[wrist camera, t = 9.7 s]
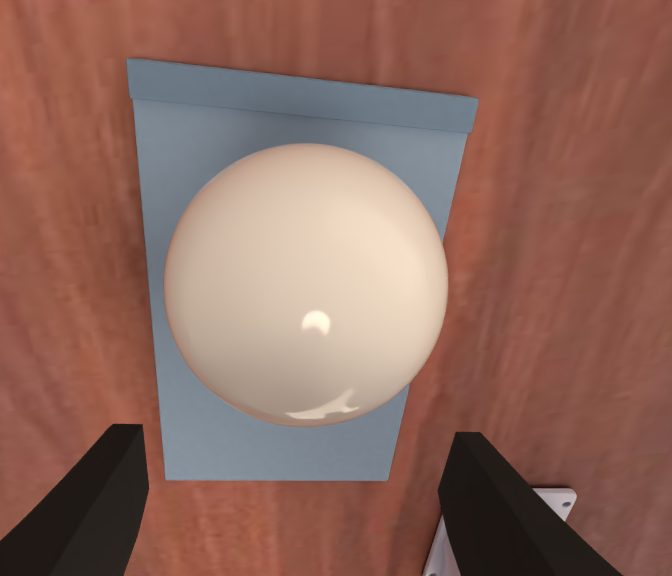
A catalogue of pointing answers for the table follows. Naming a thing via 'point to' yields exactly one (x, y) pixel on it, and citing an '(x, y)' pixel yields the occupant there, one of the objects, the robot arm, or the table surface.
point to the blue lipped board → (216, 154)
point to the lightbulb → (305, 285)
